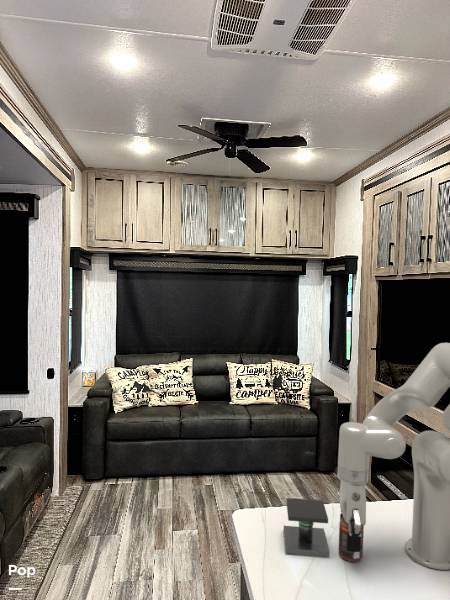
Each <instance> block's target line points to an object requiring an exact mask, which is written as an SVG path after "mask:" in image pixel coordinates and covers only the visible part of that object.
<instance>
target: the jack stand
mask: <svg viewBox="0 0 450 600" xmlns="http://www.w3.org/2000/svg"><path fill="white" fill-rule="evenodd" d="M285 502H286V503H285V504H286V511H287V512H286V513H287V520H288V522H290V521H291V522H298V526H294V525H283V539H284V541H283V542H284V552H285V555H287V556H298V557H299V556H303V557H314V558H326V559H327V558H328V559H330V553H331V552H330V548H329V544H328V540H327V536H326V533H325V528H324V527H322V528H321V527H319V528H318V527H314V524H315V523H317V524H329V517H328V513H327V510H326V506H325V502H324V500H320V499H319V500H318V499H317V500H316V499H304V498H303V499H301V498H286V501H285Z"/></svg>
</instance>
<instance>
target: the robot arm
mask: <svg viewBox="0 0 450 600" xmlns="http://www.w3.org/2000/svg"><path fill="white" fill-rule="evenodd" d="M449 388H450V342H441V343H438V344H436V345H435V346H434V347H433V348H431V350H430V351H429V352H428V353H427V354H426V356H425V357H424V358H423V360H422V361H421V363H420V364H419V365H418V366H417V367H416V369H415V370H414V371H413V372H412V374H411V375H410V376H409V377H408V379H407V380H406V382H404V384H403V385H401V386H400V387H398V388H396V389H395V390H393V391H392V392H390V393H389V394H387V395H386V396H384V397H383V398H382V399H380V400H379V401H378V402H377V403H376V404H375V405H374V406H373V407H372V409H371V410H370V411H369V412H368V414H367V415H366V417H365V418H364V420H363V422H362V423H361V422H356V421H355V422H353V421H348V422H344V423H342V424H341V425H340V427H339V437H338V454H337V455H338V456H337V473H336V475H337V479H338V480H339V481H340V487H339V488H340V489H339V508H340V512H341V513H339V514H340V515H339V520H340V519H341V518H342V517H344V520H345V522H346V523H347V524H348V531H349V534H347V551H353V552H360V548H361V525H364V526H366V522H367V516H366V515H367V496H366V494H367V492H366V485H367V484H368V482H369V469H370V456H371V457H375V458H382V459H388V460H393V459H397V458H399V457H401V456H402V455H403V454H404V453H405V452H406V447H407V445H406V444H407V443H406V440H405V438H404V436H403V435H402V434H401V433H400V432H399V431H398V430H397V429H395V428H394V426H395V425H396V423H398V421H399V420H400V419H402V418H403V417H404V416H406V415H407V414H410V413H412V412H416V411H423V410H427V409H431V408H433V407H435V405H436V404H437V403H438V402H439V400H440V399H441V398H442V396H443V395H444V394H445V393H446V392H447V390H448V389H449ZM441 423H442V426H443V427H444V428H445V430H447V432H449V433H450V403H449V404H448V406H446V408H445V409H444V411H443V412H442V415H441ZM411 457H412V458H411V459H412V466H413V478H414V479H413V505H412V528H411V530H412V531H411V532H412V533H411V538H409V539H408V540H406V541H405V544H404V545H405V546H404V549H405V552H406V554H407V555H408V557H409V558H411V559H412V560H413V561H415V562H416V563H418V564H420V565H421V566H424V567H426V568H430V569H435V570H439V571H447V570H448V571H449V570H450V437H448V436H447V435H445V434H443V433H440V432H439V431H435V430H424V431H421V432H420V433H419V434H417V436H416V437H415V438H414V440H413V441H412V446H411ZM350 519H351V520H354V521H350ZM351 525H354V528H352V530H351Z"/></svg>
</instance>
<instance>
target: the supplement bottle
mask: <svg viewBox="0 0 450 600" xmlns="http://www.w3.org/2000/svg"><path fill="white" fill-rule="evenodd" d="M350 521H354V520H351V519H350ZM338 527H339V528H338V530H339V531H338V555H339V557H341V558H342V559H343V560H345V561H348V562H353V563H357V562H360V561H362V559H363V555H364V533H365V531H364V527H365V525H361V548H360V552H353V551H347V534H349V531H348V524H347V523H346V522H345V520H344V517H342V518H341V519H340V518H339V525H338ZM352 528H354V525H351V530H352Z"/></svg>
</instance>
